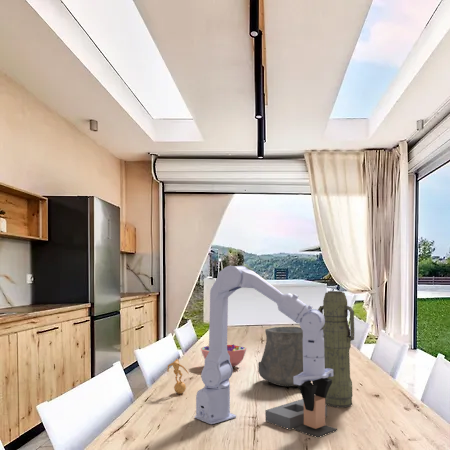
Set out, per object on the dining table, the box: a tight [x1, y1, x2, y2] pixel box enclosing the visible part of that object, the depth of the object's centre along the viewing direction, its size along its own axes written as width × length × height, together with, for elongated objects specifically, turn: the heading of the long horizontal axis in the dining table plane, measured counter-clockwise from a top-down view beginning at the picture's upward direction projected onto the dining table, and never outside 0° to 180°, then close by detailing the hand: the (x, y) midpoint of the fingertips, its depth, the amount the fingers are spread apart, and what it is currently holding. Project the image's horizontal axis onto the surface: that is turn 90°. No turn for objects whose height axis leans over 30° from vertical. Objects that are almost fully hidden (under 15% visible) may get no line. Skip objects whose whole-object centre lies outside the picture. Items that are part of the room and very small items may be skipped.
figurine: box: [166, 358, 189, 395], centre depth 154 cm, size 8×6×12 cm
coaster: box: [293, 424, 338, 438], centre depth 119 cm, size 8×8×1 cm
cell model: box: [200, 344, 247, 368], centre depth 194 cm, size 17×20×11 cm
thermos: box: [317, 290, 355, 408], centre depth 144 cm, size 9×12×35 cm
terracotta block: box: [304, 395, 326, 429], centre depth 120 cm, size 4×4×7 cm
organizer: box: [264, 398, 328, 430], centre depth 128 cm, size 16×9×3 cm, turn 130°
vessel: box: [257, 326, 303, 387], centre depth 167 cm, size 22×22×20 cm
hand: (314, 408), depth 120 cm, fingers closed on terracotta block, 4 cm apart
